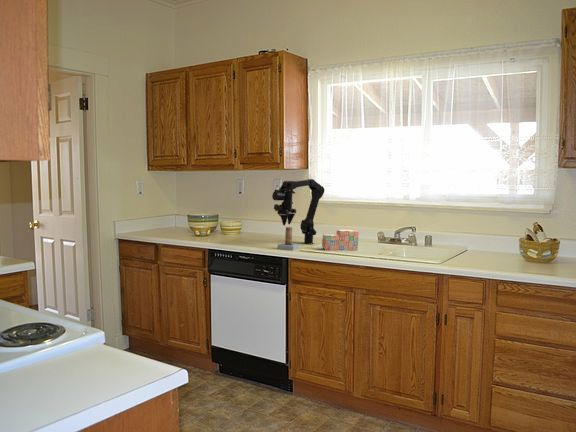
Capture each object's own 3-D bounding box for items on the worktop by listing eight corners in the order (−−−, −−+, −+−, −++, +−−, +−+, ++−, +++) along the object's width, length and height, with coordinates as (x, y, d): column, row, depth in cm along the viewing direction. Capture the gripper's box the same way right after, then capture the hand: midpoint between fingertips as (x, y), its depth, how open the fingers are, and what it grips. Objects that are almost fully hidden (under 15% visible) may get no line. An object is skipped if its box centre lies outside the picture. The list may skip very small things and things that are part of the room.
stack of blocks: (324, 250, 317) (325, 230, 316) (321, 249, 323) (322, 229, 322) (357, 250, 322) (358, 231, 321) (354, 249, 328) (355, 229, 327)
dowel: (284, 248, 319) (285, 227, 318) (290, 248, 319) (291, 227, 318) (285, 249, 315) (286, 227, 314) (291, 249, 316) (292, 227, 314)
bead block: (283, 246, 324) (283, 242, 323) (298, 248, 320) (298, 244, 320) (277, 248, 314) (277, 244, 314) (293, 250, 311) (293, 246, 310)
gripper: (281, 199, 342) (280, 222, 343) (270, 200, 324) (269, 225, 326) (297, 200, 338) (296, 224, 339) (286, 201, 321) (285, 226, 322)
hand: (286, 224), depth 332 cm, fingers open, 9 cm apart
